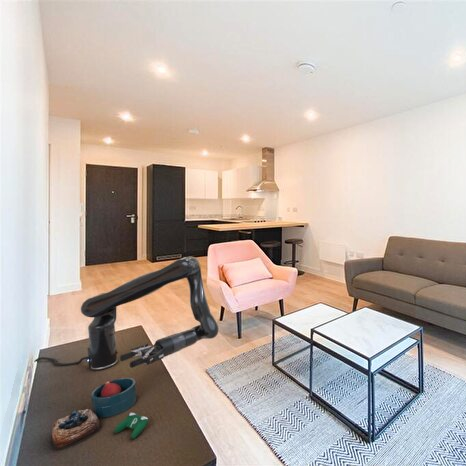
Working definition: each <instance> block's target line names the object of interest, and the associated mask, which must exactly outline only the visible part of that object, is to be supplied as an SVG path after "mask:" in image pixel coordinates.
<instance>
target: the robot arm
mask: <svg viewBox="0 0 466 466" xmlns="http://www.w3.org/2000/svg"><path fill="white" fill-rule="evenodd" d="M184 279H186V281H187V283H188V288H189V304H190V309H191V312H192V315H193V318H194V320H195V321H196V322H199V324H198V325H195V326H194V327H191V328H189V329H187V330H184V331H181V332H177V333H173V334H171V335H167V336H165V337H161V338H159V339H156V340H155V342H154V344H152V345H149V343H145V344H141V345H139V346H136V347H132V348H130V351H129V352H126V353H124V354H121V355H120V356H119V361H120V362H124V361H127V360H130V359H132V358H136V359H133V360H131V361H130V362H129V368H131V369H132V368H135V367H137V366H141V365H145V364H146V365H147V366H149V365H151V364H153V363H156V362H158V361H161V360H163V359H164V358H165V357H168V356H171V355H173V354H176V353H178V352H180V351H182V350H184V349H186V348H188V347H191V346H193V345H195V344H196V343H197V342H199V341H201V340H211V339H214V338H216V337H217V336H218V334H219V325H218V322H217V320H216V319H215V317H214V316H213V314H212V313H211V309H210V306H209V302H208V300H207V296H206V293H205V288H204V283H203V277H202V268H201V264H200V261H199V259H198V258H197V257H195V256H184V257H180V258H179V259H177V260H175V261H173V262H171V263H170V264H168V265H166V266H164V267H162V268H160V269H158V270H154V271H151V272H147V273H145V274H142V275H139V276H137V277H134V278H133V279H130V280H128V281H127V282H125V283H123V284H121V285H119V286H117V287H115V288H114V289H112V290H110V291H108V292H107V291H106V292H102V293H99V294H95V295H93V296H90V297H88V298H87V299H86V300H84V301H83V302H82V304H81V306H80V312H81V314H82V315H83V316H84V317H86V318H90V319H91V318H93V319H92V320H91V322H90V323H89V324H88V326H87V331H88V332H87V333H88V343H89V345H88V346H89V347H87V355H86V356H84V357H82V358H80V359H79V360H78V361H74V362H67V363H66V362H63V363H62V362H57V359H56V358H52V357H48V356H47V357H46V356H42V357H40V356H39V357H37V358H35V360H34V363H36V362H38V361H40V360H45V361H46V360H47V361H51V362H53V364H54V365H55V366H73V365H78V364H81V363H82V362H83V360H86V362H88V368H89V369H91V370H92V371H101V370H105V369H108V368H112V367H113V366H115V365H116V364H117V363H118V353H119V352H118V351H117V339H116V338H117V336H116V321H117V307H119V306H121V305H122V306H123V305H125V304H129V303H131V302H134V301H137V300H139V299H142V298H144V297H145V298H146V297H147V296H149V295H151V294H154V293H156V292H158V291H159V290H161V289H162V288H163V287H165V286H167V285H169V284H171V283H174V282H177V281H178V282H179V281H180V280H184ZM137 357H138V358H137Z"/></svg>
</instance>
